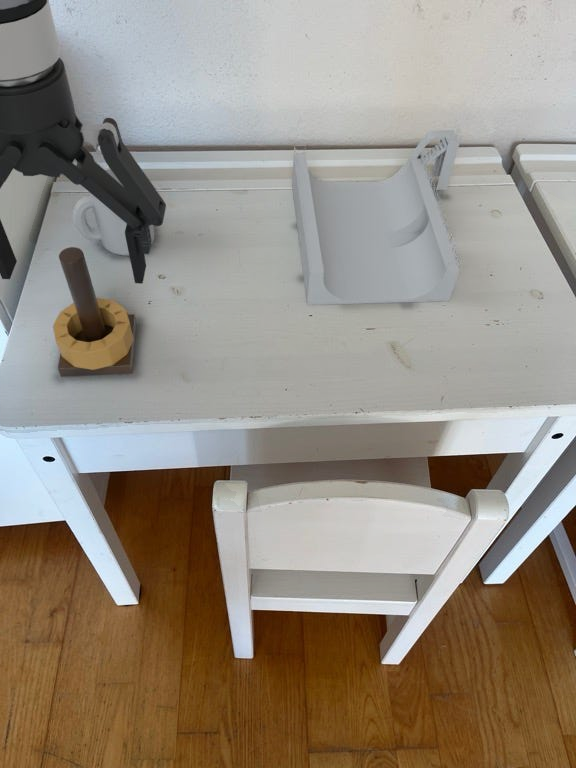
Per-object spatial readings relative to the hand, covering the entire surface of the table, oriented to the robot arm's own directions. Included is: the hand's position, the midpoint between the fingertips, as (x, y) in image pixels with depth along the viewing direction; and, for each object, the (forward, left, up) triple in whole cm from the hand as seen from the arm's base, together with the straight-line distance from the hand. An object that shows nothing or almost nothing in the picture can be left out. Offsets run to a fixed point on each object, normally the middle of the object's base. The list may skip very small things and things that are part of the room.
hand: (75, 272), depth 65 cm
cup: (-13, +14, -12) cm, 23 cm away
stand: (0, 0, -12) cm, 12 cm away
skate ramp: (+13, +39, -12) cm, 43 cm away
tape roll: (0, 0, -11) cm, 11 cm away
